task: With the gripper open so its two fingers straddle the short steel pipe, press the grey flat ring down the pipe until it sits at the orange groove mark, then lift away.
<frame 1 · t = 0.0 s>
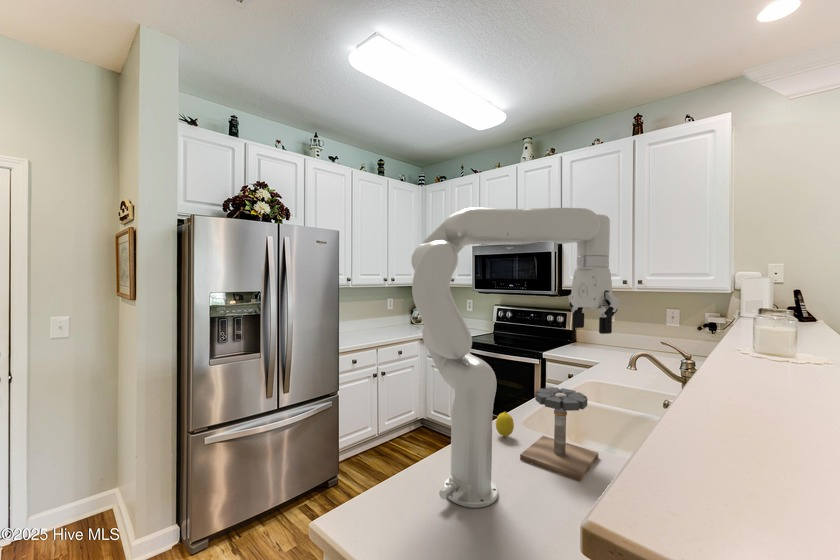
hand: (591, 330, 94), 37 cm above the table, tool pointing down, fingers open, 9 cm apart
lemon: (504, 437, 116), on the table
grey flat ring: (560, 398, 102), point 17 cm above the table, slide at 0.0 cm
pipe stand: (559, 458, 103), on the table
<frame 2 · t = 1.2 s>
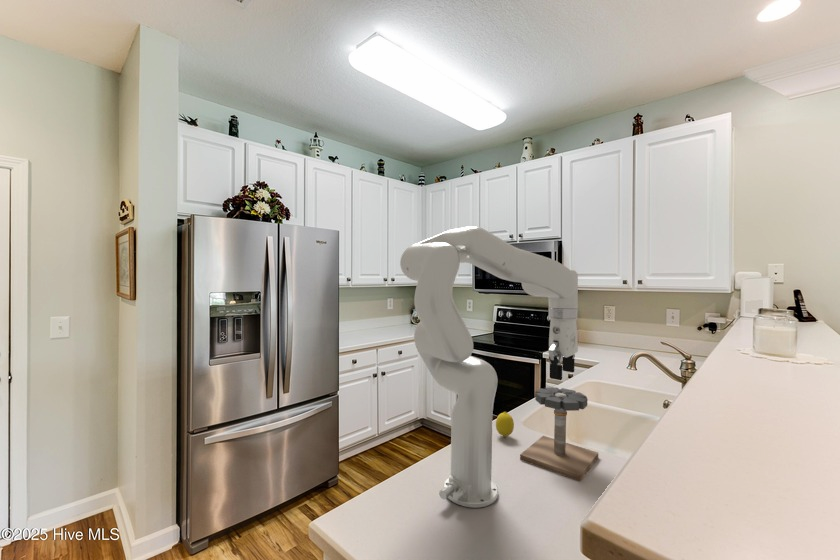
hand: (562, 375, 103), 23 cm above the table, tool pointing down, fingers open, 9 cm apart
nothing on the table moved.
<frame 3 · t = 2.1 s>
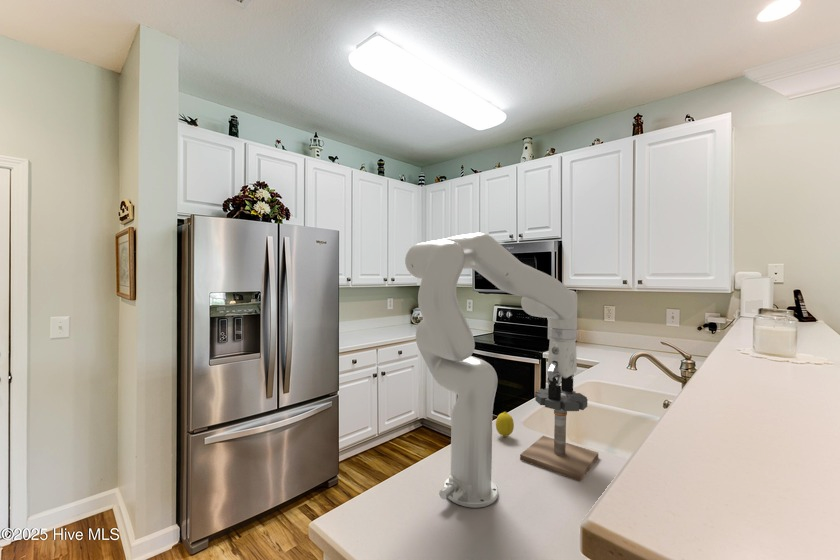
hand: (561, 395, 102), 18 cm above the table, tool pointing down, fingers open, 9 cm apart
grey flat ring: (560, 398, 102), point 17 cm above the table, slide at 0.2 cm, touching gripper
everything else where it was.
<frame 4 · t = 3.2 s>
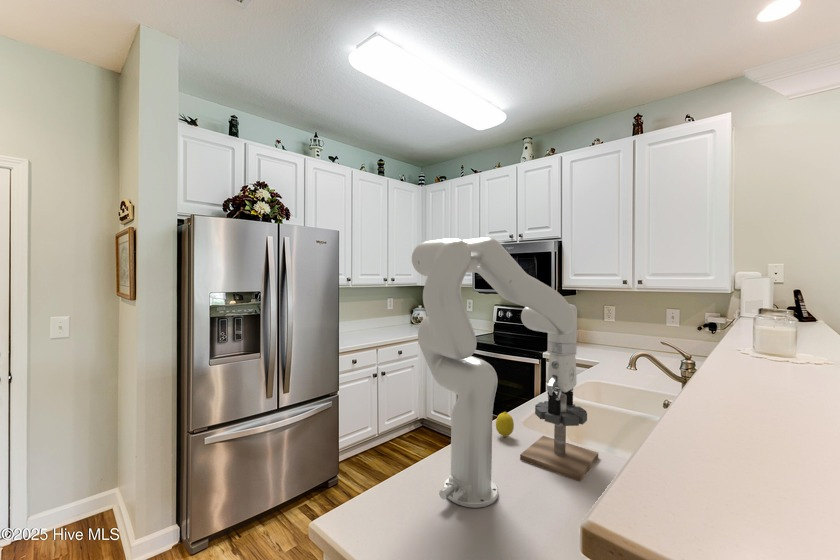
hand: (560, 409, 102), 14 cm above the table, tool pointing down, fingers open, 9 cm apart
grey flat ring: (560, 412, 102), point 13 cm above the table, slide at 4.0 cm, touching gripper
everything else where it was.
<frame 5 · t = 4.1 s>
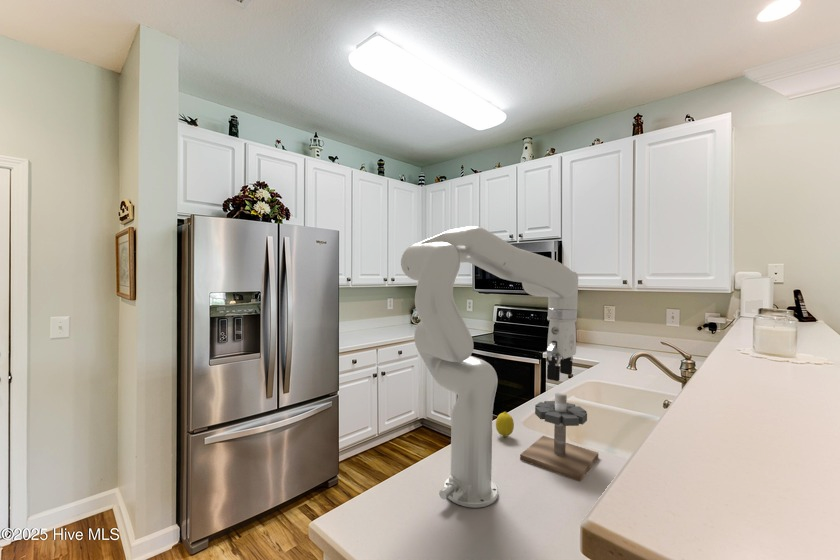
hand: (559, 376, 102), 23 cm above the table, tool pointing down, fingers open, 9 cm apart
grey flat ring: (560, 412, 102), point 13 cm above the table, slide at 4.0 cm
everything else where it was.
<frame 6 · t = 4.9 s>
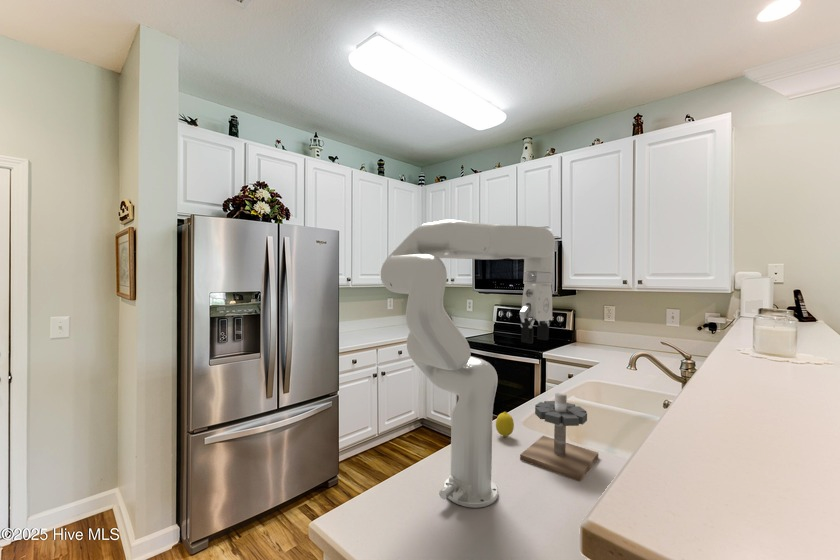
hand: (534, 341, 101), 33 cm above the table, tool pointing down, fingers open, 9 cm apart
nothing on the table moved.
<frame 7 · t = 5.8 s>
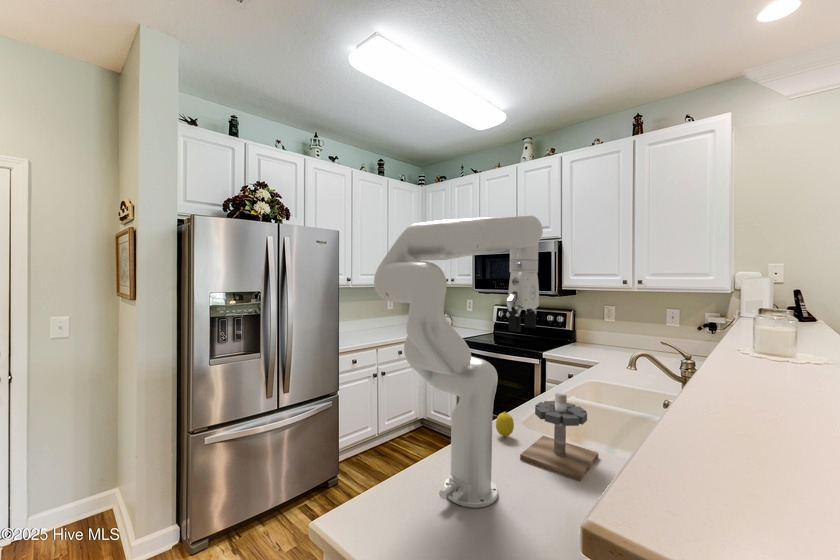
hand: (522, 329, 101), 36 cm above the table, tool pointing down, fingers open, 9 cm apart
nothing on the table moved.
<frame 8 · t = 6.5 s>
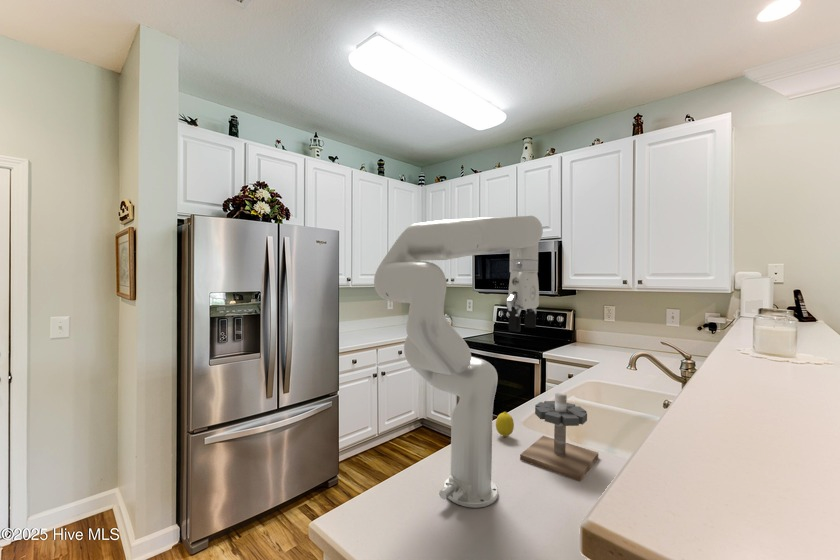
hand: (522, 329, 101), 36 cm above the table, tool pointing down, fingers open, 9 cm apart
nothing on the table moved.
at the end: grey flat ring slide at 4.0 cm; the gripper is holding nothing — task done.
